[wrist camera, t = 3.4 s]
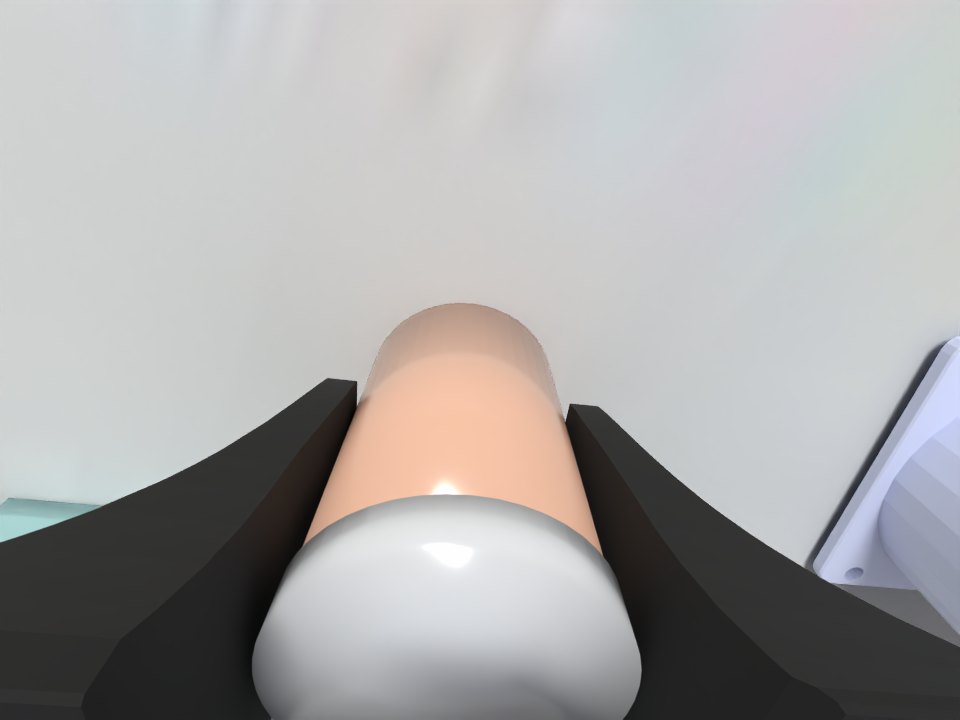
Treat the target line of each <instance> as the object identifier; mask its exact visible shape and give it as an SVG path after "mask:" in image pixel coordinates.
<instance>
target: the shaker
mask: <svg viewBox="0 0 960 720" xmlns="http://www.w3.org/2000/svg"><path fill="white" fill-rule="evenodd" d="M641 671H642V669H641V659H640V653H639V649H638V646H637V643H636V639H635V636H634V633H633V629H632V626H631V623H630V619H629V616H628V613H627V609H626V606H625V603H624V599H623V596H622V593H621V590H620V586H619V583H618V580H617V578H616V576H615V574H614V572H613V570H612V569H611V567H610V565H609V563H608V562H607V561H606V560H605V558H604V557H603V554H602V550H601V547H600V543H599V540H598V536H597V533H596V529H595V526H594V522H593V519H592V515H591V512H590V508H589V504H588V501H587V497H586V494H585V490H584V487H583V483H582V480H581V476H580V473H579V469H578V466H577V462H576V458H575V455H574V451H573V448H572V444H571V441H570V437H569V434H568V430H567V427H566V423H565V420H564V416H563V413H562V409H561V405H560V402H559V398H558V395H557V391H556V388H555V384H554V381H553V377H552V374H551V370H550V367H549V363H548V360H547V357H546V355H545V353H544V351H543V349H542V346H541V345H540V343H539V342H538V341H537V339H536V338H535V336H534V335H533V334H532V333H531V332H530V331H529V330H528V329H527V328H526V327H525V326H524V325H522V324H521V323H520V322H519V321H517V320H516V319H514V318H512V317H511V316H509V315H507V314H505V313H503V312H501V311H499V310H496V309H493V308H490V307H487V306H482V305H477V304H467V303H454V304H445V305H440V306H435V307H432V308H429V309H426V310H423V311H421V312H419V313H417V314H415V315H413V316H411V317H409V318H408V319H406V320H405V321H403V322H402V323H401V324H400V325H399V326H397V327H396V328H395V329H394V330H393V331H392V332H391V334H390V335H389V336H388V337H387V338H386V340H385V341H384V343H383V345H382V346H381V348H380V350H379V352H378V355H377V357H376V359H375V362H374V364H373V367H372V370H371V372H370V375H369V377H368V380H367V382H366V385H365V388H364V390H363V393H362V395H361V398H360V400H359V403H358V406H357V408H356V411H355V413H354V416H353V418H352V421H351V424H350V426H349V429H348V431H347V434H346V436H345V439H344V442H343V444H342V447H341V449H340V452H339V454H338V457H337V460H336V462H335V465H334V467H333V470H332V472H331V475H330V478H329V480H328V483H327V485H326V488H325V490H324V493H323V496H322V498H321V501H320V503H319V506H318V508H317V511H316V514H315V516H314V519H313V521H312V524H311V526H310V529H309V532H308V534H307V537H306V539H305V542H304V544H303V547H302V548H301V549H300V550H299V551H298V552H297V553H296V555H295V556H294V558H293V559H292V560H291V562H290V563H289V565H288V566H287V568H286V570H285V572H284V575H283V577H282V579H281V581H280V584H279V586H278V589H277V591H276V594H275V596H274V598H273V601H272V603H271V606H270V608H269V611H268V613H267V616H266V618H265V621H264V623H263V625H262V628H261V630H260V633H259V635H258V638H257V640H256V643H255V647H254V652H253V657H252V676H253V680H254V685H255V689H256V692H257V694H258V696H259V698H260V701H261V703H262V705H263V706H264V708H265V709H266V711H267V712H268V714H269V715H270V716H271V718H272V719H273V720H623V718H624V717H625V716H626V715H627V713H628V711H629V710H630V708H631V706H632V704H633V703H634V701H635V698H636V695H637V692H638V689H639V686H640V680H641Z"/></svg>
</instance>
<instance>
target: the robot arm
mask: <svg viewBox="0 0 960 720" xmlns="http://www.w3.org/2000/svg"><path fill="white" fill-rule="evenodd" d="M356 408H357V381H349V380H340V379H330V378H327V379H326V380H324V381H323V382H321V383H320V384H318V385H317V386H316V387H314V388H313V389H312V390H310V391H309V392H307V393H306V394H305V395H303V396H302V397H301V398H299V399H298V400H297V401H295V402H294V403H292V404H291V405H290V406H288V407H287V408H285V409H284V410H283V411H281V412H280V413H278V414H277V415H275V416H274V417H273V418H271V419H270V420H268V421H267V422H265V423H264V424H262V425H261V426H259V427H257V428H256V429H254V430H253V431H251V432H249V433H248V434H246V435H245V436H243V437H241V438H240V439H238V440H237V441H235V442H233V443H232V444H230V445H229V446H227V447H225V448H224V449H222V450H220V451H218V452H217V453H215V454H213V455H211V456H210V457H208V458H206V459H204V460H202V461H200V462H198V463H197V464H195V465H193V466H191V467H189V468H187V469H185V470H183V471H181V472H179V473H177V474H175V475H173V476H171V477H169V478H167V479H164V480H162V481H160V482H158V483H156V484H153V485H151V486H149V487H146V488H144V489H142V490H139V491H137V492H135V493H132V494H130V495H128V496H125V497H123V498H121V499H118V500H116V501H113V502H111V503H109V504H106V505H104V506H102V507H99V508H97V509H94V510H92V511H89V512H86V513H84V514H81V515H78V516H76V517H73V518H70V519H67V520H65V521H62V522H59V523H57V524H54V525H51V526H48V527H45V528H42V529H39V530H36V531H33V532H30V533H27V534H24V535H21V536H19V537H16V538H12V539H9V540H6V541H3V542H0V720H271V719H272V718H271V716H270V715H269V714H268V712H267V711H266V709H265V708H264V706H263V705H262V703H261V701H260V698H259V696H258V694H257V692H256V689H255V685H254V680H253V676H252V657H253V652H254V647H255V643H256V640H257V638H258V635H259V633H260V630H261V628H262V625H263V623H264V621H265V618H266V616H267V613H268V611H269V608H270V606H271V603H272V601H273V598H274V596H275V594H276V591H277V589H278V586H279V584H280V581H281V579H282V577H283V575H284V572H285V570H286V568H287V566H288V565H289V563H290V562H291V560H292V559H293V558H294V556H295V555H296V553H297V552H298V551H299V550H300V549H301V548H302V547H303V544H304V542H305V539H306V537H307V534H308V532H309V529H310V526H311V524H312V521H313V519H314V516H315V514H316V511H317V508H318V506H319V503H320V501H321V498H322V496H323V493H324V490H325V488H326V485H327V483H328V480H329V478H330V475H331V472H332V470H333V467H334V465H335V462H336V460H337V457H338V454H339V452H340V449H341V447H342V444H343V442H344V439H345V436H346V434H347V431H348V429H349V426H350V424H351V421H352V418H353V416H354V413H355V411H356ZM565 423H566V427H567V430H568V434H569V437H570V441H571V444H572V448H573V451H574V455H575V458H576V462H577V466H578V469H579V473H580V476H581V480H582V483H583V487H584V490H585V494H586V497H587V501H588V504H589V508H590V512H591V515H592V519H593V522H594V526H595V529H596V533H597V536H598V540H599V543H600V547H601V550H602V554H603V557H604V558H605V560H606V561H607V562H608V563H609V565H610V567H611V569H612V570H613V572H614V574H615V576H616V578H617V580H618V583H619V586H620V590H621V593H622V596H623V599H624V603H625V606H626V609H627V613H628V616H629V619H630V623H631V626H632V629H633V633H634V636H635V639H636V643H637V646H638V649H639V653H640V659H641V669H642V671H641V680H640V686H639V689H638V692H637V695H636V698H635V701H634V703H633V704H632V706H631V708H630V710H629V711H628V713H627V715H626V716H625V717H624V718H623V720H960V647H958V646H956V645H954V644H951V643H949V642H947V641H945V640H943V639H941V638H938V637H936V636H934V635H932V634H930V633H928V632H926V631H923V630H921V629H919V628H917V627H915V626H913V625H910V624H908V623H906V622H904V621H902V620H900V619H898V618H896V617H894V616H892V615H890V614H888V613H886V612H884V611H882V610H880V609H878V608H876V607H874V606H872V605H870V604H869V603H867V602H865V601H863V600H861V599H859V598H857V597H855V596H853V595H851V594H850V593H848V592H846V591H844V590H842V589H840V588H838V587H836V586H835V585H833V584H831V583H837V584H848V585H860V586H872V587H884V588H896V589H908V590H918V591H919V592H920V593H921V594H922V595H923V596H924V597H925V598H926V599H927V600H928V601H929V603H930V604H931V605H932V606H933V607H934V608H935V609H936V610H937V611H938V612H939V614H940V615H941V616H942V617H943V618H944V619H945V620H946V621H947V622H948V623H949V625H950V626H951V627H952V628H953V629H954V630H955V631H956V632H957V633H958V634H959V636H960V335H959V336H957V337H954V338H953V339H951V340H950V341H948V342H947V343H946V344H945V345H944V346H943V348H942V349H941V350H940V352H939V354H938V355H937V357H936V359H935V360H934V362H933V364H932V365H931V367H930V369H929V370H928V372H927V374H926V375H925V377H924V379H923V380H922V382H921V384H920V385H919V387H918V389H917V390H916V392H915V394H914V395H913V397H912V399H911V400H910V402H909V404H908V405H907V407H906V409H905V410H904V412H903V414H902V415H901V417H900V419H899V420H898V422H897V424H896V425H895V427H894V429H893V430H892V432H891V434H890V435H889V437H888V439H887V440H886V442H885V444H884V445H883V447H882V449H881V450H880V452H879V454H878V455H877V457H876V459H875V460H874V462H873V464H872V465H871V467H870V469H869V470H868V472H867V474H866V475H865V477H864V479H863V480H862V482H861V484H860V485H859V487H858V489H857V491H856V492H855V494H854V496H853V497H852V499H851V501H850V502H849V504H848V506H847V507H846V509H845V511H844V512H843V514H842V516H841V517H840V519H839V521H838V522H837V524H836V526H835V527H834V529H833V531H832V532H831V534H830V536H829V537H828V539H827V541H826V542H825V544H824V546H823V547H822V549H821V551H820V552H819V554H818V556H817V557H816V559H815V561H814V564H813V568H814V571H815V572H816V574H817V575H818V576H817V575H815V574H813V573H812V572H810V571H808V570H807V569H805V568H803V567H802V566H800V565H798V564H797V563H795V562H793V561H792V560H790V559H789V558H787V557H785V556H784V555H782V554H780V553H779V552H777V551H775V550H774V549H772V548H771V547H769V546H767V545H766V544H764V543H763V542H761V541H760V540H758V539H757V538H755V537H754V536H752V535H751V534H749V533H748V532H746V531H745V530H743V529H742V528H741V527H739V526H738V525H736V524H735V523H734V522H732V521H731V520H729V519H728V518H727V517H725V516H724V515H722V514H721V513H720V512H718V511H717V510H715V509H714V508H713V507H712V506H710V505H709V504H708V503H706V502H705V501H704V500H702V499H701V498H700V497H699V496H697V495H696V494H695V493H694V492H693V491H691V490H690V489H689V488H688V487H686V486H685V485H684V484H683V483H682V482H680V481H679V480H678V479H677V478H676V477H674V476H673V475H672V474H671V473H670V472H669V471H668V470H666V469H665V468H664V467H663V466H662V465H661V464H660V463H659V462H657V461H656V460H655V459H654V458H653V457H652V456H651V455H650V454H649V453H648V452H647V451H645V450H644V449H643V448H642V447H641V446H640V445H639V444H638V443H637V442H636V441H635V440H634V439H633V438H632V437H631V436H630V435H629V434H628V433H627V432H625V431H624V430H623V429H622V428H621V427H620V426H619V425H618V424H617V423H616V422H615V421H614V420H613V419H612V418H611V417H610V416H609V415H608V414H606V413H605V412H604V411H603V410H602V409H601V408H599V407H598V406H588V405H579V404H570V406H569V410H568V414H567V418H566V422H565Z"/></svg>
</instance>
